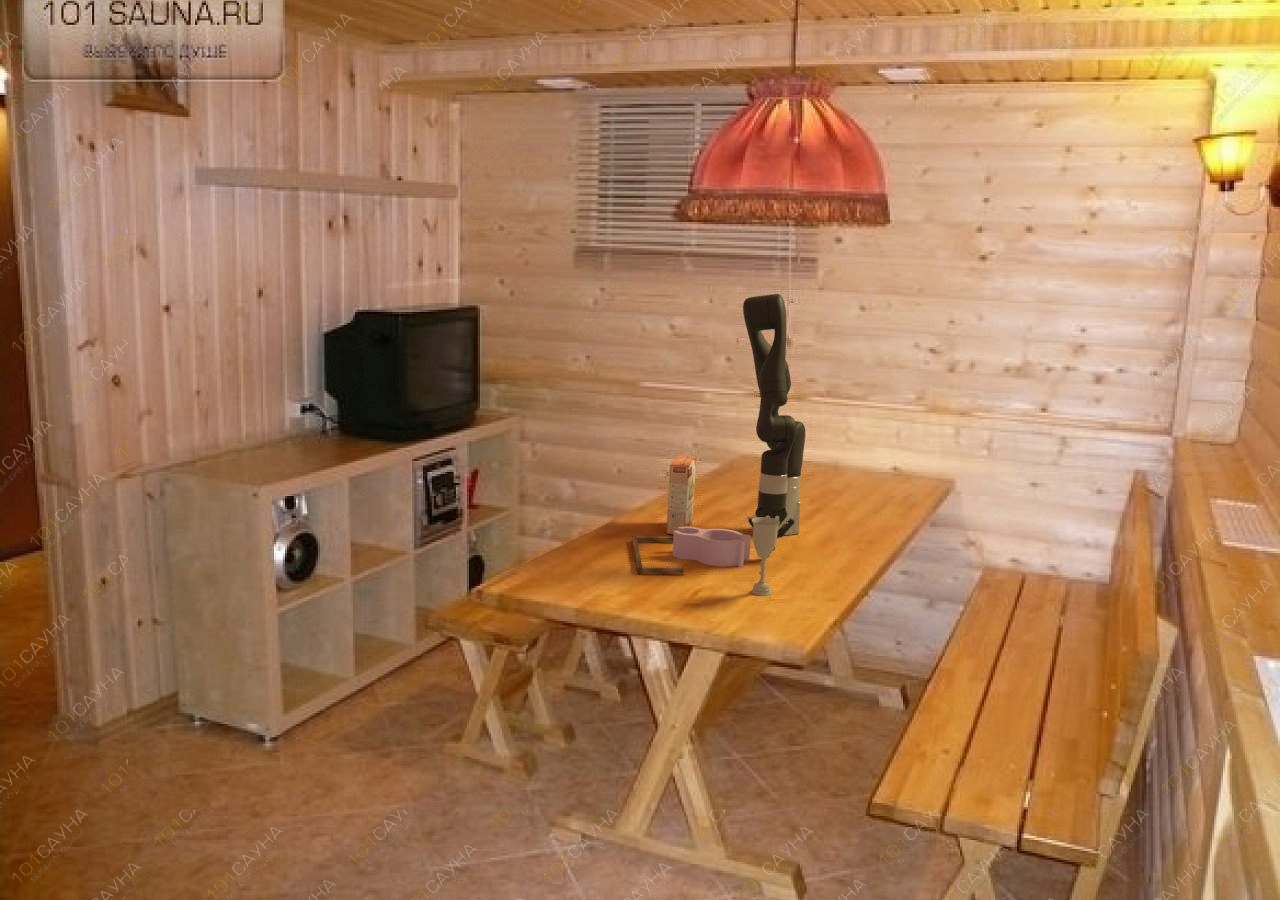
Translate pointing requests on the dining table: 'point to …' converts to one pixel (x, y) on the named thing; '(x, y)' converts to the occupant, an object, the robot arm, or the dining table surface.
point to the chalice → (764, 548)
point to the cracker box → (681, 493)
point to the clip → (712, 546)
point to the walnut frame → (646, 569)
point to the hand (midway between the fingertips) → (768, 552)
